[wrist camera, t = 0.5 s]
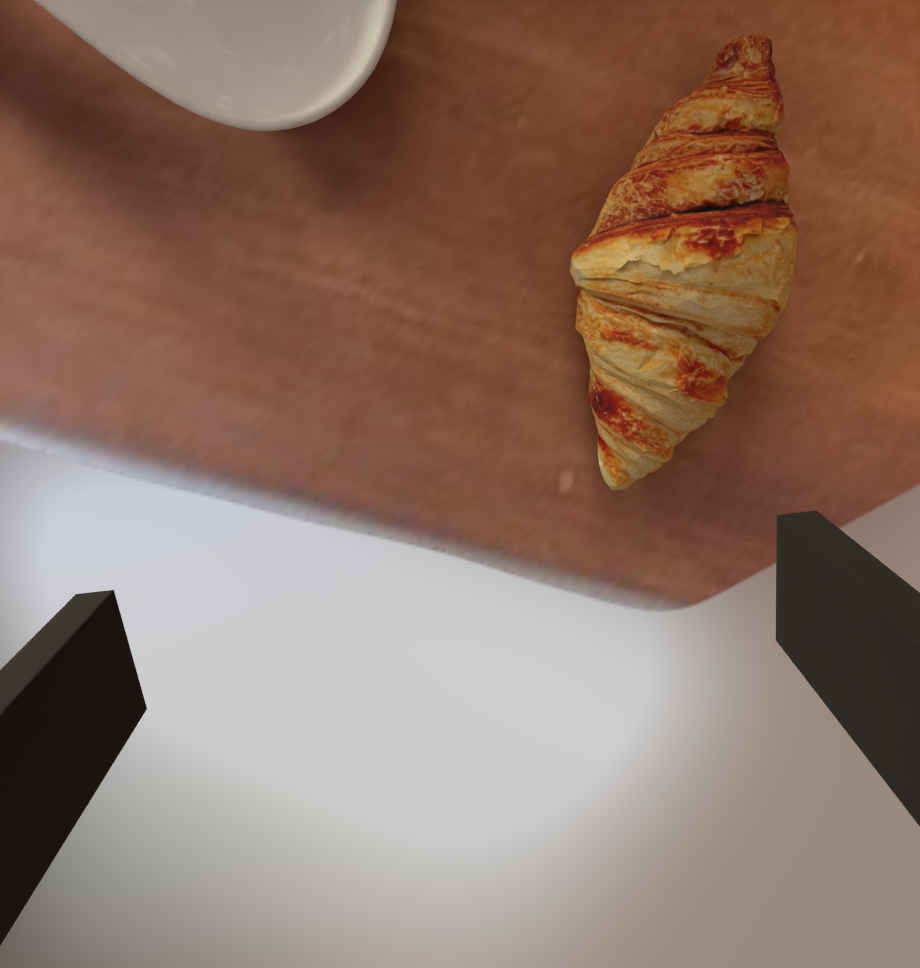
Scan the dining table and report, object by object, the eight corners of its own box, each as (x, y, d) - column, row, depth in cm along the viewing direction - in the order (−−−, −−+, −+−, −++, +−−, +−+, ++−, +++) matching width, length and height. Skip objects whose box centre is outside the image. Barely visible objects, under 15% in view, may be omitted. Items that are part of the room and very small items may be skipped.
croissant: (647, 467, 47) (751, 525, 40) (502, 465, 41) (595, 532, 35) (762, 67, 40) (911, 61, 33) (605, 6, 34) (744, -16, 28)
